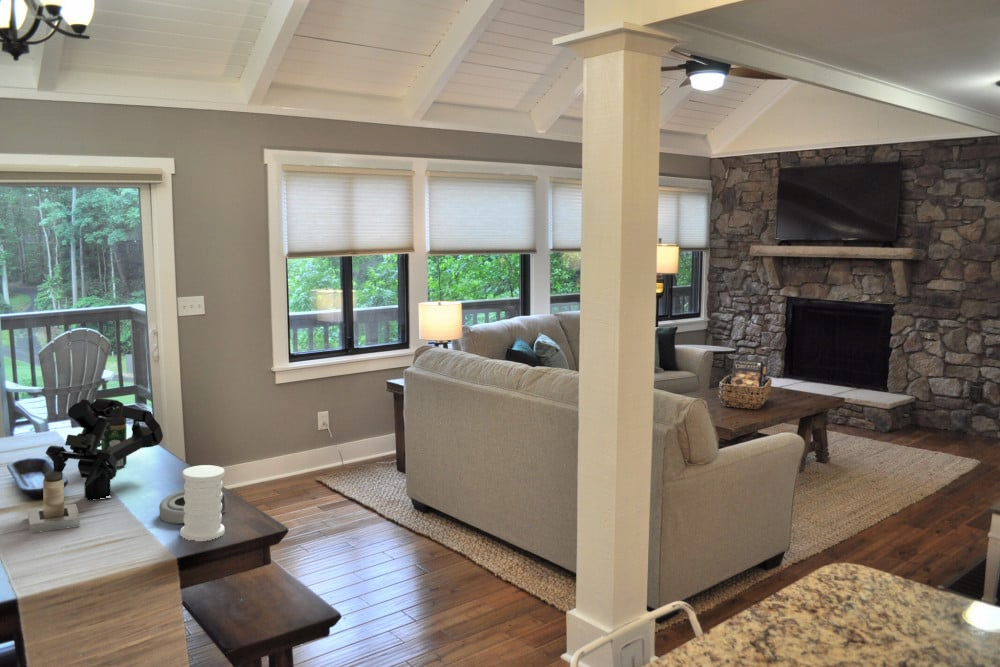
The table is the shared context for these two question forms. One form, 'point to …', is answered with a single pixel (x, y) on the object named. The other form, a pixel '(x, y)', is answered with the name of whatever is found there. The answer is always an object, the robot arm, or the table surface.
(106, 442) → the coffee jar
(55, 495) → the tan bottle
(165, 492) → the table surface
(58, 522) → the housing plate
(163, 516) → the turbocharger housing
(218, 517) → the decorative container
